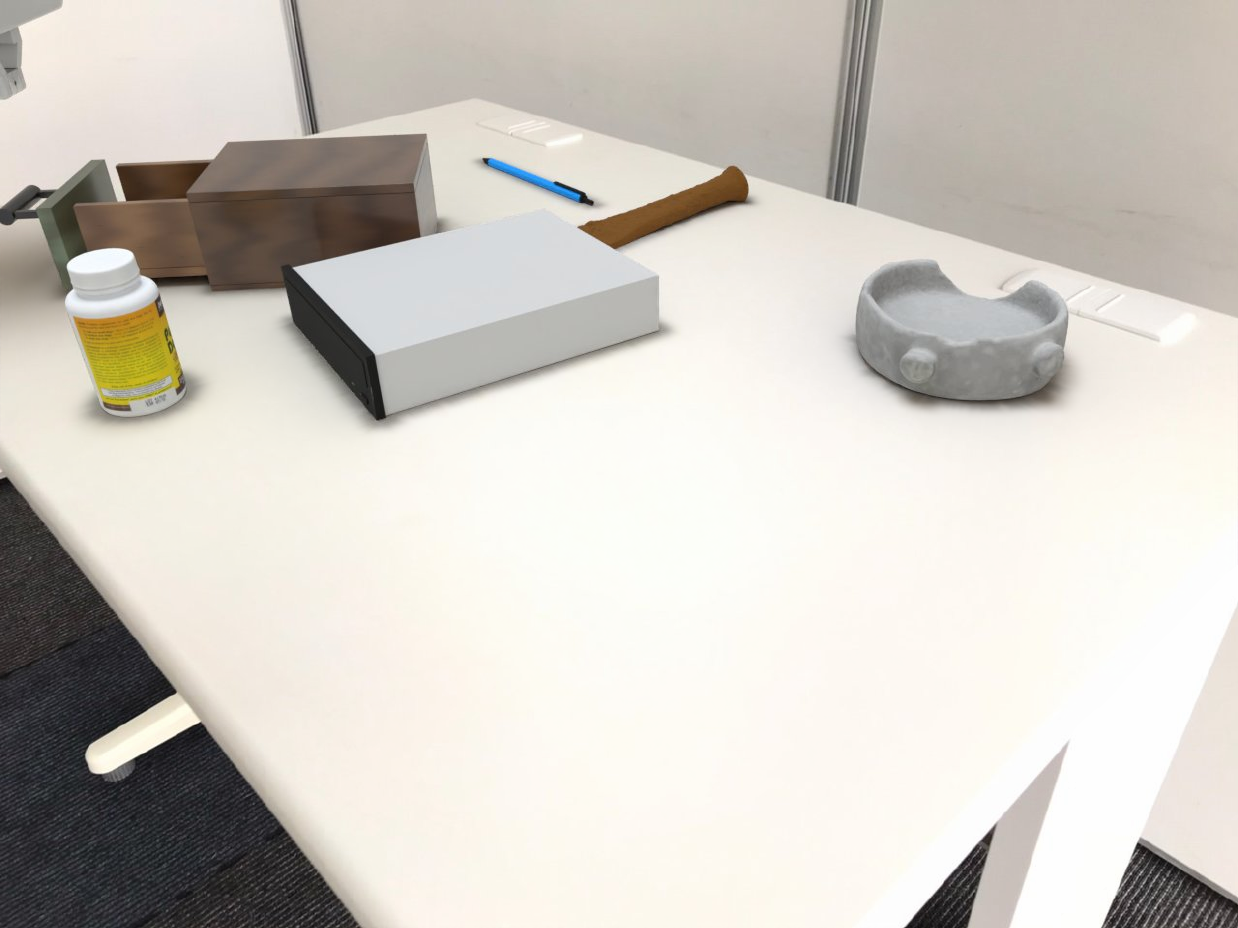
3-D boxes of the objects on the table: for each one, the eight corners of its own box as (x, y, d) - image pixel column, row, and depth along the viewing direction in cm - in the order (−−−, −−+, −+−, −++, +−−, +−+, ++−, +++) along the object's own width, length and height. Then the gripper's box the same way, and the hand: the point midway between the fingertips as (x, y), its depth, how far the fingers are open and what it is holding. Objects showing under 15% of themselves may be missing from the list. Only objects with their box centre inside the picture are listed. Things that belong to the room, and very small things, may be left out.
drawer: (1, 292, 82) (-30, 211, 78) (59, 236, 92) (33, 162, 89) (268, 279, 83) (249, 199, 80) (296, 224, 94) (280, 151, 90)
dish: (855, 310, 78) (862, 249, 76) (1043, 325, 76) (1058, 262, 73) (847, 403, 67) (855, 336, 64) (1069, 425, 64) (1088, 355, 61)
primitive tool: (600, 256, 88) (599, 217, 86) (562, 239, 92) (560, 202, 90) (753, 205, 98) (755, 169, 96) (714, 192, 102) (715, 157, 100)
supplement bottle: (200, 402, 69) (159, 261, 63) (116, 431, 66) (65, 285, 60) (173, 372, 72) (131, 236, 66) (91, 398, 69) (41, 258, 64)
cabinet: (212, 295, 83) (185, 193, 78) (249, 234, 94) (227, 141, 90) (427, 284, 84) (413, 182, 79) (438, 225, 95) (426, 133, 91)
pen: (589, 208, 98) (588, 197, 97) (479, 163, 110) (478, 153, 109) (596, 206, 98) (595, 194, 98) (486, 162, 111) (485, 151, 110)
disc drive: (292, 326, 78) (278, 265, 75) (546, 259, 88) (542, 204, 85) (375, 425, 66) (363, 357, 63) (660, 335, 76) (660, 273, 73)
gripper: (-26, -121, 80) (28, 63, 87) (-195, -93, 63) (-108, 132, 70) (55, -120, 80) (102, 64, 87) (-92, -92, 63) (-17, 133, 71)
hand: (7, 95), depth 79 cm, fingers closed
